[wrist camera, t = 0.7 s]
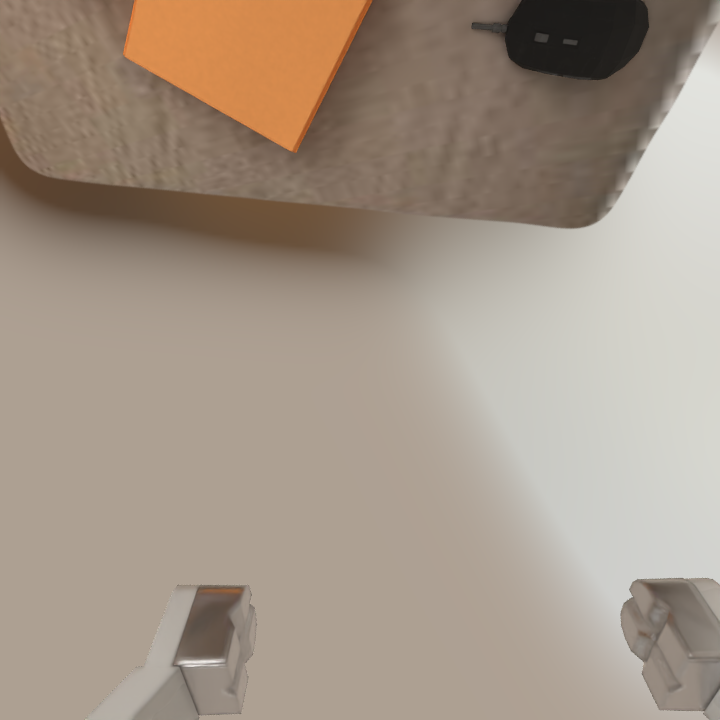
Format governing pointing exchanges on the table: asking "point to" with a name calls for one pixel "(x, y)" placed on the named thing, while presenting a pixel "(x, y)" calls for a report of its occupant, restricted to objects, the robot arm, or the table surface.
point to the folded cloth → (248, 55)
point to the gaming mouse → (574, 36)
